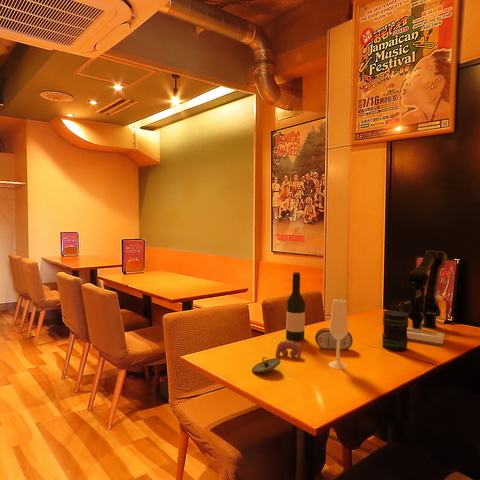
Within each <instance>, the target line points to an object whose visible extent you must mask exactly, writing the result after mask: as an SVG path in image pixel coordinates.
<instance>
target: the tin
mask: <svg viewBox="0 0 480 480" xmlns="http://www.w3.org/2000/svg"><path fill="white" fill-rule="evenodd" d="M329 328H330V327H329ZM329 328H327V327H325V328H320V329H319V330H317V332H316V333H315V337H314V340H315V342H316V345H317V346H318V347H319V348H320V349H323V350H332V351H336V350H337V339H335V338H334V337H333V336H332V335H331V333H330V331H329ZM353 341H354V340H353V336H352V333H350V331H348V333H347V335H346V336H345V337H344V338H342V339H341V340H340V351H346V350H349V349H350V348H351V347H352V345H353Z"/></svg>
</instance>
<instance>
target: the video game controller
mask: <svg viewBox="0 0 480 480" xmlns="http://www.w3.org/2000/svg"><path fill="white" fill-rule="evenodd" d="M288 350H291V351H290V352H289V351H288ZM302 351H303V347H302V345H300V343H298V342H297V341H290V340H284V341H280V342H279V343H278V344H277V346H276V351H275V358H279V356H280V355H281V354H282V355H283V356H284V357H288V355H290V356H291V357H292V358H295V357H296V359H297V361H299V360H300V359H301V358H302Z"/></svg>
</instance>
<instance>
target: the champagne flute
mask: <svg viewBox="0 0 480 480" xmlns="http://www.w3.org/2000/svg"><path fill="white" fill-rule="evenodd" d="M347 310H348V308H347V300H345V299H341V298H340V299H332V304H331V313H330V321H329V322H330V323H329V331H330V333H331V335H332V336H333V337H334V338H335V339H337V350H335V351H336V353H335V354H336V355H335V356H336V358H335V360H334V361H331V362H329V363H328V366H329V368H332V369H335V370H336V369H337V370H344V369H347V368H348V365H347V364H345V363H344V362H343V361H341V360H340V359H341V358H340V357H341V356H340V355H341V350H340V340H341V339H342V338H344V337H345V336H346V335H347V333H348V332H349V326H348V325H349V324H348V323H349V322H348V311H347Z"/></svg>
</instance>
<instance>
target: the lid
mask: <svg viewBox="0 0 480 480" xmlns="http://www.w3.org/2000/svg"><path fill="white" fill-rule="evenodd" d="M264 359H266V360H264ZM280 364H281V359H280V358H278V357H273V358H269V359H267V357H266V356H264V357H262V361H261V362H259V363H257V364H255V365H254V366H253V367H252V368H251V371H252V372H253V373H256V374H259V373H266V372H269V371H273V370H274V369H275V368H277V367H278V366H279V365H280Z"/></svg>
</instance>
